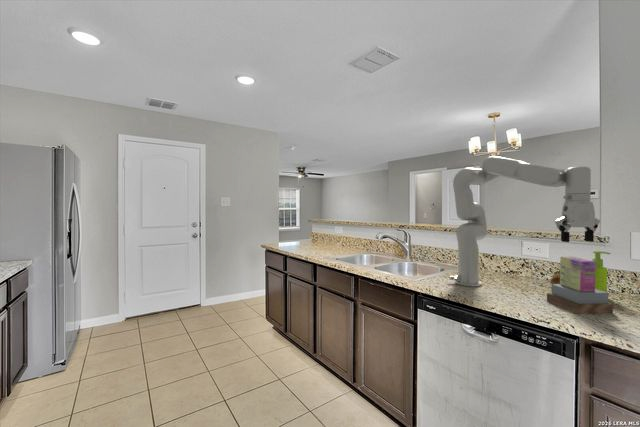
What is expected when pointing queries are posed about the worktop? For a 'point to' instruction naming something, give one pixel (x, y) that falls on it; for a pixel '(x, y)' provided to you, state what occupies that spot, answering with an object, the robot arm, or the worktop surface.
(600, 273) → the soap dispenser
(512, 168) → the robot arm
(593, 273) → the box
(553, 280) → the onion
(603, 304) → the tower base
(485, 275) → the worktop surface
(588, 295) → the tower top
